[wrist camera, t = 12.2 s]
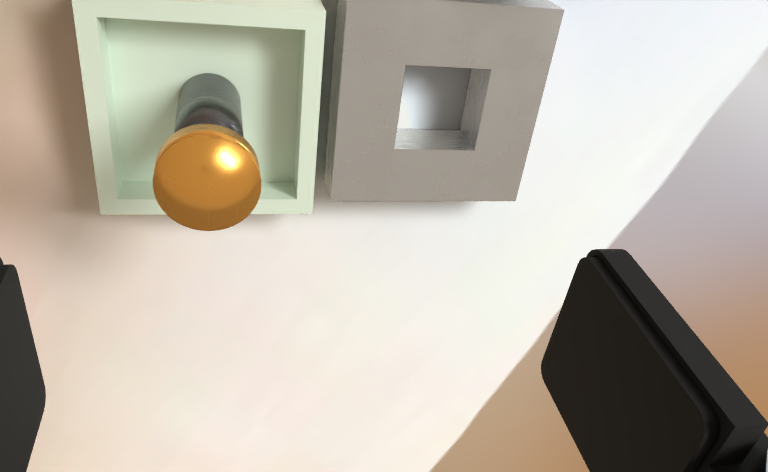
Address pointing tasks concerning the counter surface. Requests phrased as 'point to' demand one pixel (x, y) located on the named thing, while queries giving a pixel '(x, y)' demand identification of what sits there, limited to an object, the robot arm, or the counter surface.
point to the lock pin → (207, 159)
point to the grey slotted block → (481, 110)
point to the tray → (192, 57)
